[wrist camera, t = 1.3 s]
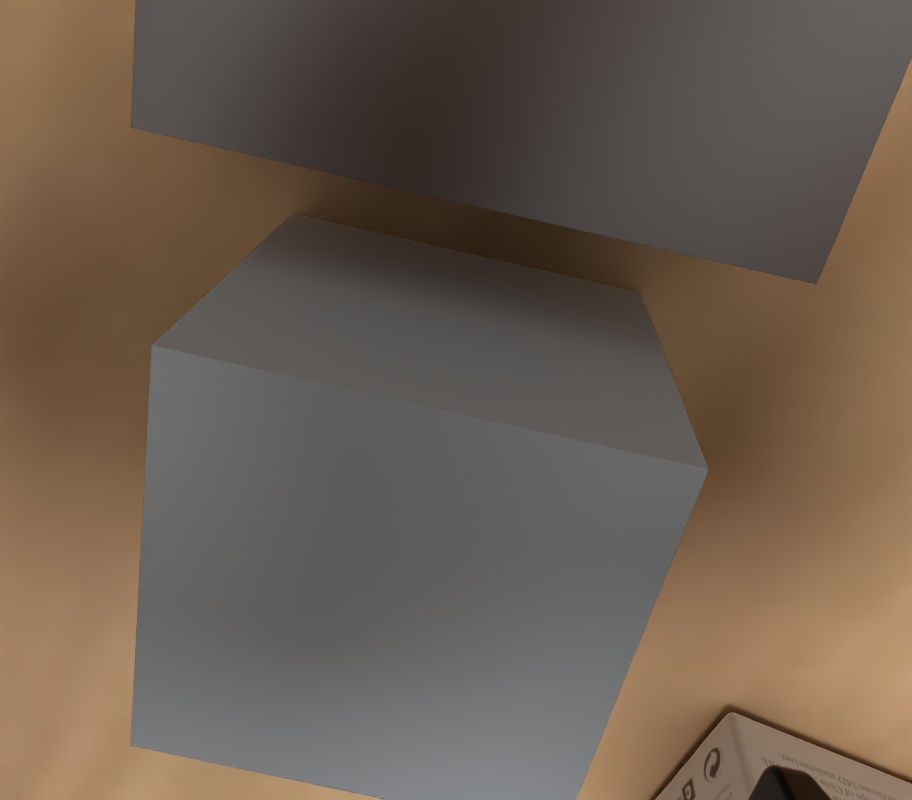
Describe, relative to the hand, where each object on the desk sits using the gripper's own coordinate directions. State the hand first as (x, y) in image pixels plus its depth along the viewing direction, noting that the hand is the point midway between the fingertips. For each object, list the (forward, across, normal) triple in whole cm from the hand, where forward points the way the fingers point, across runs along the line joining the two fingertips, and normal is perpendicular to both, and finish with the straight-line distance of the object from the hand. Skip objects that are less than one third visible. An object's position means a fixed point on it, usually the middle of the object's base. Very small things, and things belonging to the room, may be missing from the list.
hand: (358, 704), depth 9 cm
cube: (+7, 0, 0) cm, 7 cm away
